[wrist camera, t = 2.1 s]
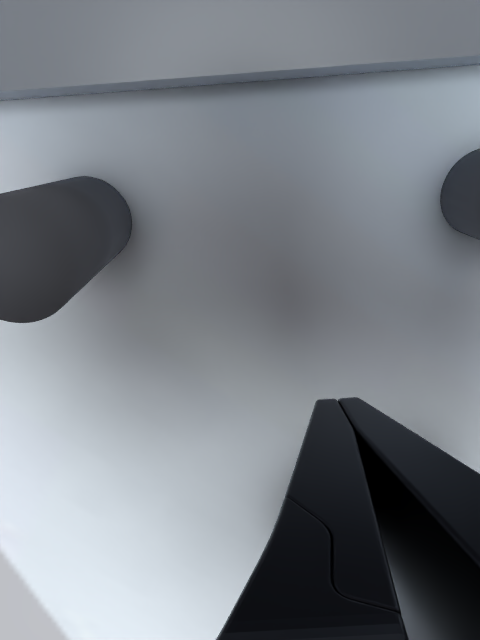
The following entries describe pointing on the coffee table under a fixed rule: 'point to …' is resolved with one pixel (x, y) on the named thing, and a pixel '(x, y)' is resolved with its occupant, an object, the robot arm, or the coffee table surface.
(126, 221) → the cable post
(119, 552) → the coffee table surface
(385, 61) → the breaker panel
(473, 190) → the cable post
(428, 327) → the coffee table surface
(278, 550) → the robot arm
